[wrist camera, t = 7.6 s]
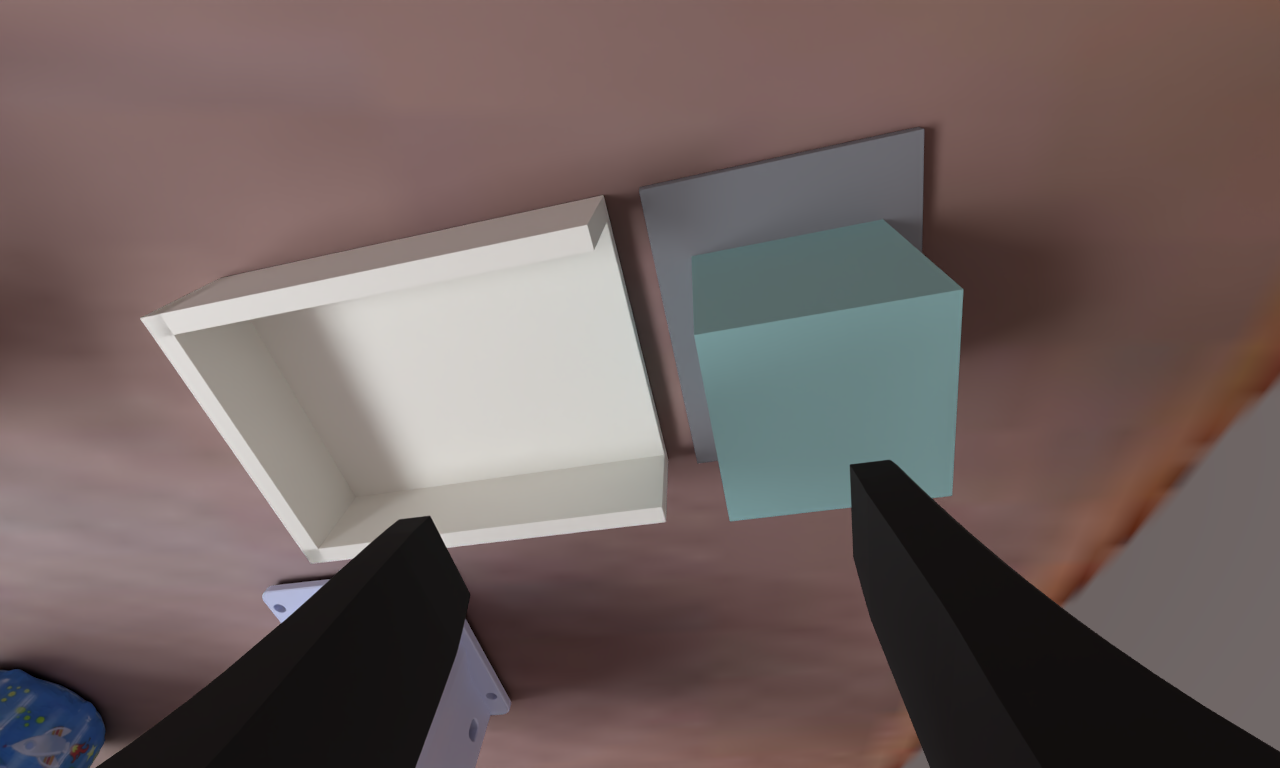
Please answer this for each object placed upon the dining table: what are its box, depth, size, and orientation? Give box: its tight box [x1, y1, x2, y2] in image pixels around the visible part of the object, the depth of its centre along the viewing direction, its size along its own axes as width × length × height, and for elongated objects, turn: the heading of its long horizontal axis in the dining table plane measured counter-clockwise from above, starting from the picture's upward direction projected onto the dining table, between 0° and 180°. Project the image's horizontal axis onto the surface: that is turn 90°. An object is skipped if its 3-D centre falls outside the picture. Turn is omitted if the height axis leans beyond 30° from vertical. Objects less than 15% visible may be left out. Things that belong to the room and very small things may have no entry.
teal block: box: [691, 219, 963, 521], centre depth 14 cm, size 5×5×5 cm
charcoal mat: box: [639, 127, 924, 463], centre depth 17 cm, size 9×7×1 cm
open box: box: [140, 195, 668, 564], centre depth 17 cm, size 9×12×3 cm
